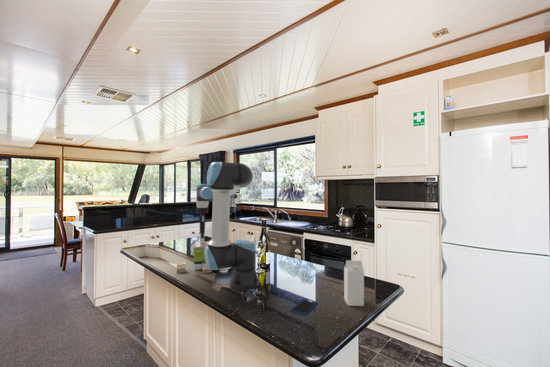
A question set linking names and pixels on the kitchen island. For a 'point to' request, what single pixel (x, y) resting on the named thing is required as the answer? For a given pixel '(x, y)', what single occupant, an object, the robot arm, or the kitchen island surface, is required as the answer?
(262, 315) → the kitchen island surface
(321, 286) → the kitchen island surface
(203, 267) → the marked block
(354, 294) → the milk carton
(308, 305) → the cell phone
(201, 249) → the tea box
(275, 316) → the kitchen island surface
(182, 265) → the marked block
